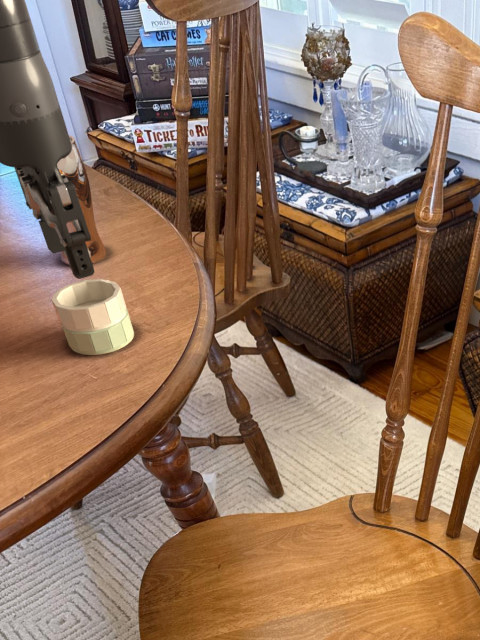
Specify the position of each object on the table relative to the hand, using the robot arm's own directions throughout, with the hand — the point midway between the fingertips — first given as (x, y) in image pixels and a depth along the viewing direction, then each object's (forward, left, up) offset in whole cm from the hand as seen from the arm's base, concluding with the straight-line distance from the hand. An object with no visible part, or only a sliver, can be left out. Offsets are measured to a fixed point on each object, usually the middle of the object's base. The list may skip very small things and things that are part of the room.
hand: (71, 263), depth 89 cm
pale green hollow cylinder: (0, -4, -8) cm, 9 cm away
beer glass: (+6, +21, -8) cm, 23 cm away
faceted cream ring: (0, -3, -5) cm, 6 cm away
